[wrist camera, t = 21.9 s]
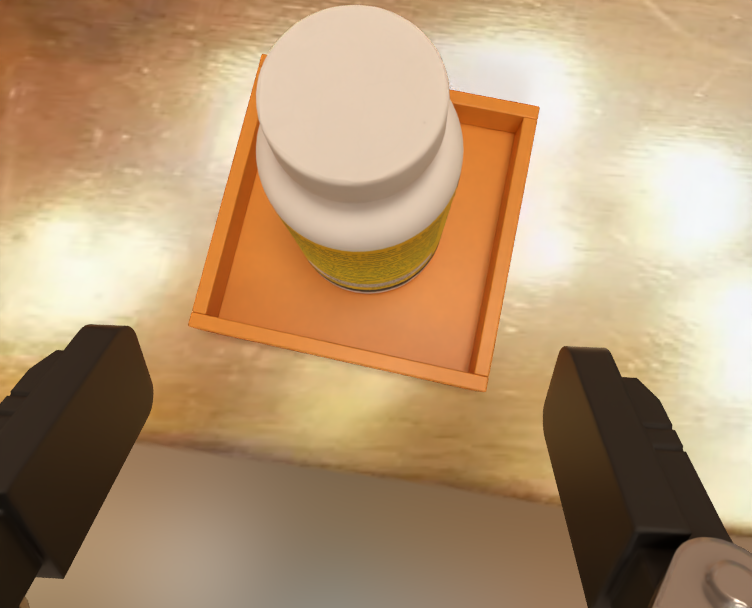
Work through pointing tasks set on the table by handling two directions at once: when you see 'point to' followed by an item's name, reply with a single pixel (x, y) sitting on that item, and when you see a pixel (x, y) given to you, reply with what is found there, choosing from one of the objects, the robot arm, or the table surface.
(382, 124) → the pill bottle
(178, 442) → the table surface
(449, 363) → the amber tray
